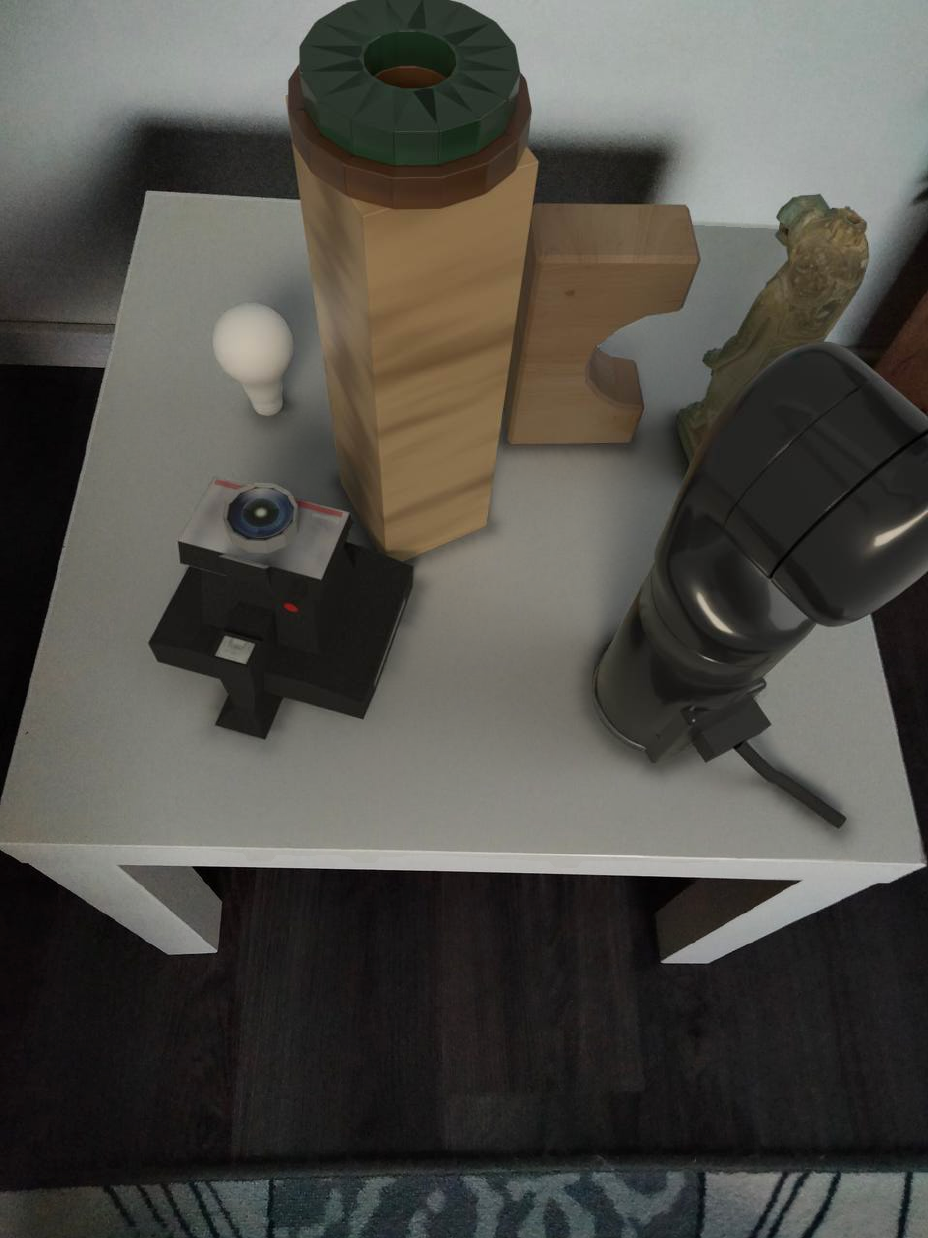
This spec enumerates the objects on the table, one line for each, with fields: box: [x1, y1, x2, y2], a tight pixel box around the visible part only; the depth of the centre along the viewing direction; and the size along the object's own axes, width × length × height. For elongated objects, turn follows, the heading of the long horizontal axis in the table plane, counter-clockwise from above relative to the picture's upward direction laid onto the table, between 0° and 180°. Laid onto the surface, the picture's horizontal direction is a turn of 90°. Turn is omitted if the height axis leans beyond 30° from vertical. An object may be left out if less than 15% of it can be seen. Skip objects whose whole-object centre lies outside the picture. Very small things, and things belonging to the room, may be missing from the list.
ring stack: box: [285, 0, 539, 562], centre depth 53 cm, size 11×11×36 cm
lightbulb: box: [212, 302, 294, 417], centre depth 68 cm, size 6×6×11 cm
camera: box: [147, 475, 414, 740], centre depth 58 cm, size 16×14×15 cm
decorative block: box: [503, 202, 702, 445], centre depth 65 cm, size 11×6×20 cm, turn 92°
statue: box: [676, 193, 870, 466], centre depth 62 cm, size 7×8×25 cm
